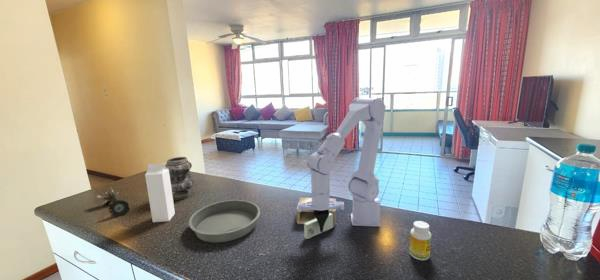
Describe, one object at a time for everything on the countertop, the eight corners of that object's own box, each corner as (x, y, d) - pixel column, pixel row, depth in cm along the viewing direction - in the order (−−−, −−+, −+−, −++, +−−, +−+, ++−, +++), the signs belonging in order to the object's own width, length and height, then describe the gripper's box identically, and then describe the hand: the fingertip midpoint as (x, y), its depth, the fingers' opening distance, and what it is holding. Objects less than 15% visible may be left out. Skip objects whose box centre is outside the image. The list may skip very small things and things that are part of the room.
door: (332, 225, 88) (332, 210, 87) (338, 228, 86) (338, 213, 85) (304, 237, 81) (303, 222, 80) (309, 241, 79) (308, 225, 78)
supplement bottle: (410, 246, 76) (412, 217, 74) (430, 252, 73) (433, 222, 71) (407, 257, 71) (409, 226, 69) (428, 263, 68) (431, 231, 66)
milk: (169, 221, 95) (160, 165, 91) (152, 222, 95) (143, 166, 90) (175, 213, 101) (167, 161, 97) (159, 214, 101) (151, 161, 96)
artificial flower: (107, 223, 98) (93, 202, 95) (107, 210, 116) (95, 191, 113) (132, 210, 103) (120, 190, 100) (128, 199, 121) (117, 181, 118)
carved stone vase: (186, 188, 127) (182, 154, 124) (200, 193, 120) (196, 157, 117) (162, 197, 118) (157, 160, 114) (176, 203, 111) (170, 164, 107)
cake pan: (173, 238, 84) (171, 226, 83) (220, 206, 107) (219, 196, 106) (235, 252, 76) (234, 239, 75) (272, 214, 98) (271, 203, 98)
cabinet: (336, 211, 98) (336, 198, 97) (336, 225, 89) (336, 210, 88) (300, 210, 100) (300, 197, 99) (297, 223, 91) (296, 209, 90)
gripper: (341, 185, 82) (341, 222, 85) (297, 186, 82) (298, 224, 85) (345, 193, 76) (345, 234, 78) (297, 195, 75) (299, 236, 78)
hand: (321, 230), depth 81 cm, fingers closed
